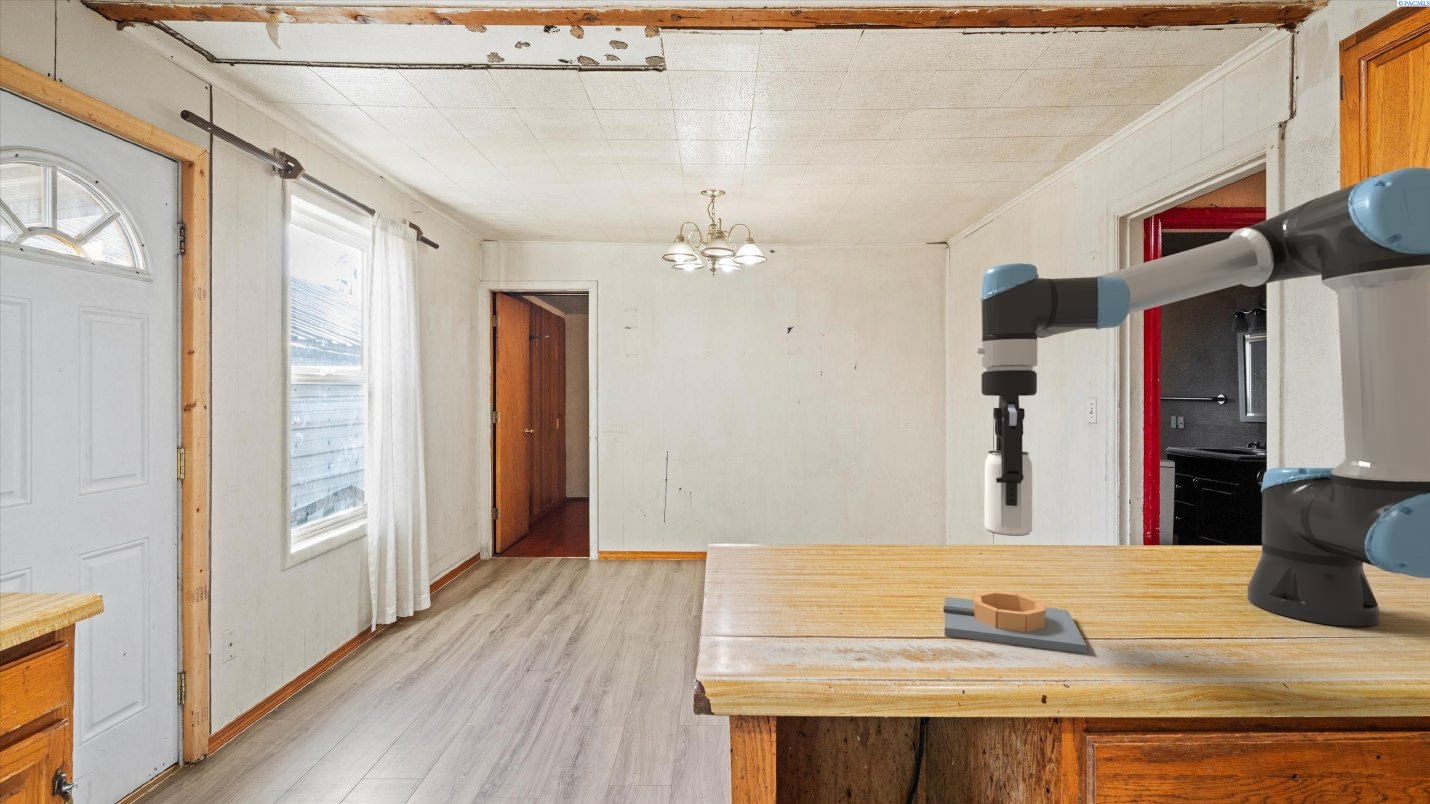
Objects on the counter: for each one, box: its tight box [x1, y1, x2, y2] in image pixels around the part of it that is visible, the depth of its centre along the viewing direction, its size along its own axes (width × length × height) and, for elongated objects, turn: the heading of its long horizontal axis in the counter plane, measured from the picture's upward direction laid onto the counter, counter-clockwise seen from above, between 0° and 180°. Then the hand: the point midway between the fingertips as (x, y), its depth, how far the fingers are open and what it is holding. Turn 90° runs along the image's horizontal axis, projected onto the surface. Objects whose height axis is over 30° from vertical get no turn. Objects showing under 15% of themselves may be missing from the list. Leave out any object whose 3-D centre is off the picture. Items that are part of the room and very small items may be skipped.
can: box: [984, 450, 1033, 537], centre depth 92 cm, size 6×6×12 cm
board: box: [943, 590, 1087, 655], centre depth 92 cm, size 18×14×4 cm
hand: (1008, 521), depth 92 cm, fingers closed on can, 6 cm apart
